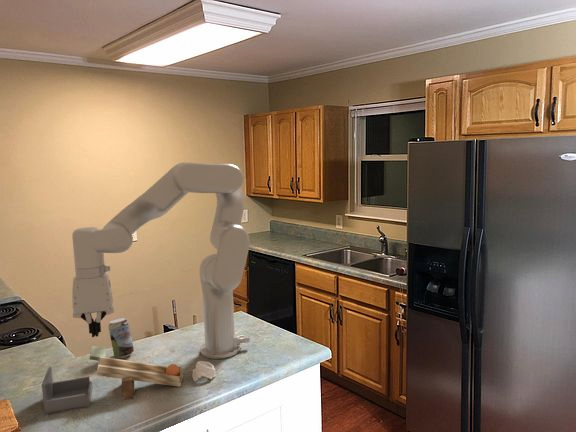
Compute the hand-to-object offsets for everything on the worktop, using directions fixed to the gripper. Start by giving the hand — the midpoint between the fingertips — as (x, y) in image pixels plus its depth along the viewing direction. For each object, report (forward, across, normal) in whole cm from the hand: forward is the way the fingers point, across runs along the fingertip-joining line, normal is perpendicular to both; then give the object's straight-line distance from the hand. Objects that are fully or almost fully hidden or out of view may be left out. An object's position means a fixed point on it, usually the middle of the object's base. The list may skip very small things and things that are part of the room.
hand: (95, 335), depth 130 cm
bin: (+13, +6, +10) cm, 18 cm away
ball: (+9, -20, +10) cm, 24 cm away
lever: (+10, -10, +6) cm, 15 cm away
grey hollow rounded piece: (+13, -29, +10) cm, 33 cm away
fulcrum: (+13, -8, +10) cm, 19 cm away
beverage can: (+13, -6, -14) cm, 20 cm away
